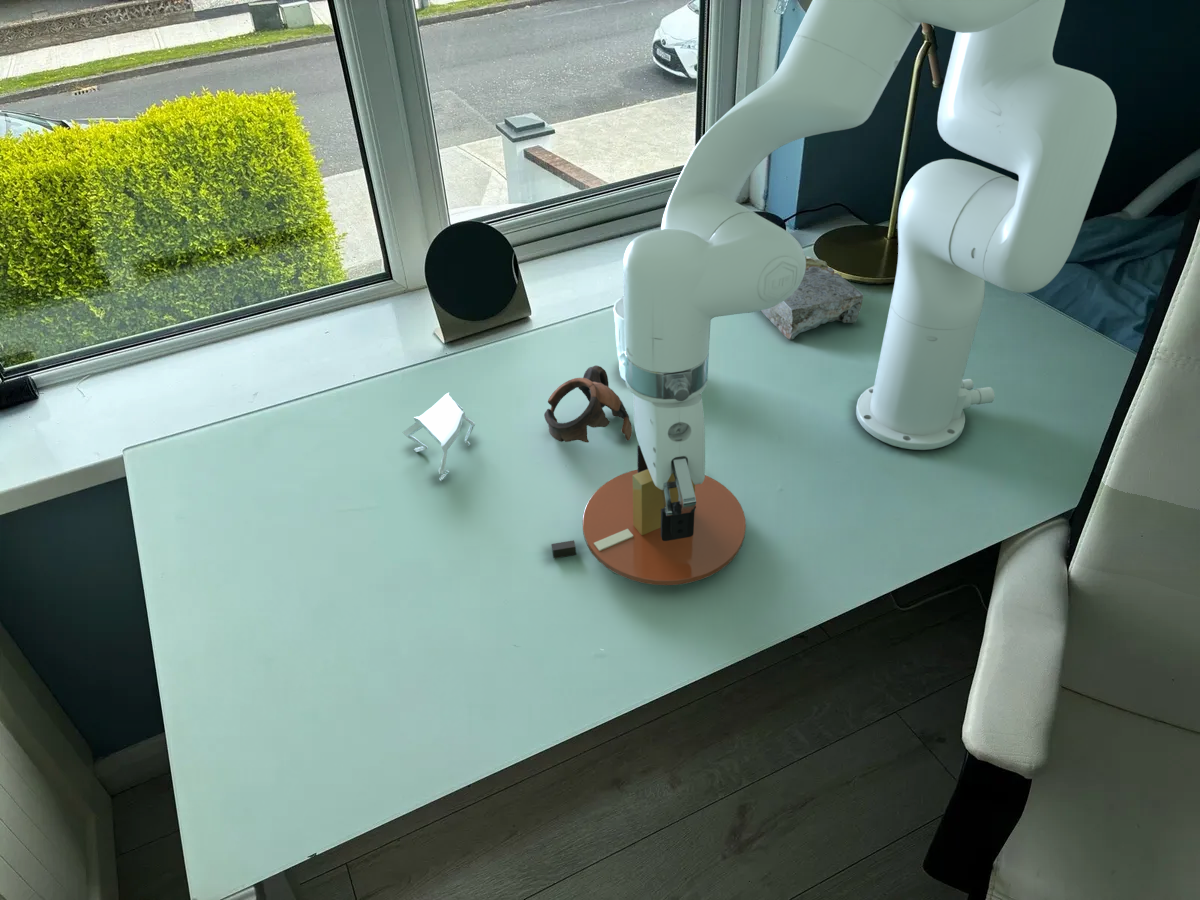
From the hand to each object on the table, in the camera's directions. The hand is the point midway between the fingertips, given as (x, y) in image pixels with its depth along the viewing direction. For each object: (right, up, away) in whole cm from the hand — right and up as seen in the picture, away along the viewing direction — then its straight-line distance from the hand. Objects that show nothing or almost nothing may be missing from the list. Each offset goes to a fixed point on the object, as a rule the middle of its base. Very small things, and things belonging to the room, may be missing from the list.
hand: (664, 504), depth 93 cm
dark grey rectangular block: (-3, -4, +3) cm, 6 cm away
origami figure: (-25, +5, +15) cm, 29 cm away
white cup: (-1, +16, +27) cm, 31 cm away
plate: (0, -2, +2) cm, 3 cm away
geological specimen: (+22, +26, +37) cm, 50 cm away
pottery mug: (-8, +8, +18) cm, 21 cm away
